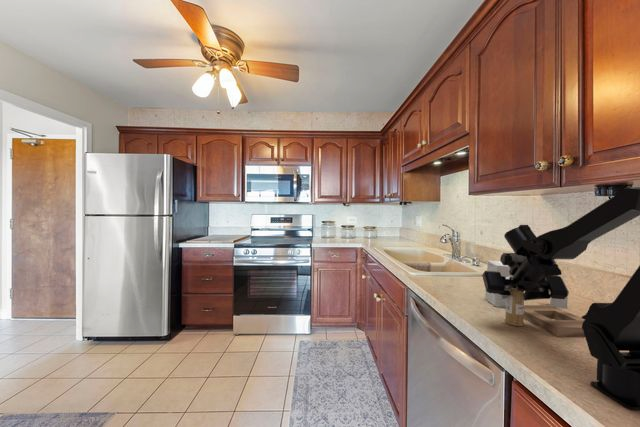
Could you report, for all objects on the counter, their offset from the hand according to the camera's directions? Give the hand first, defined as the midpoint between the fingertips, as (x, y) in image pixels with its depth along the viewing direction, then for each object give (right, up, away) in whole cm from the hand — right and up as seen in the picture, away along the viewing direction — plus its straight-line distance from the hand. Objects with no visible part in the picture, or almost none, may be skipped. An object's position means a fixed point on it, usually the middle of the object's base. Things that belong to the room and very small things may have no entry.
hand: (512, 298), depth 78 cm
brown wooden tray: (+12, -7, -1) cm, 14 cm away
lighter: (+24, -7, +13) cm, 29 cm away
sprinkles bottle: (0, -7, -1) cm, 7 cm away
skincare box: (+6, -7, +15) cm, 18 cm away
